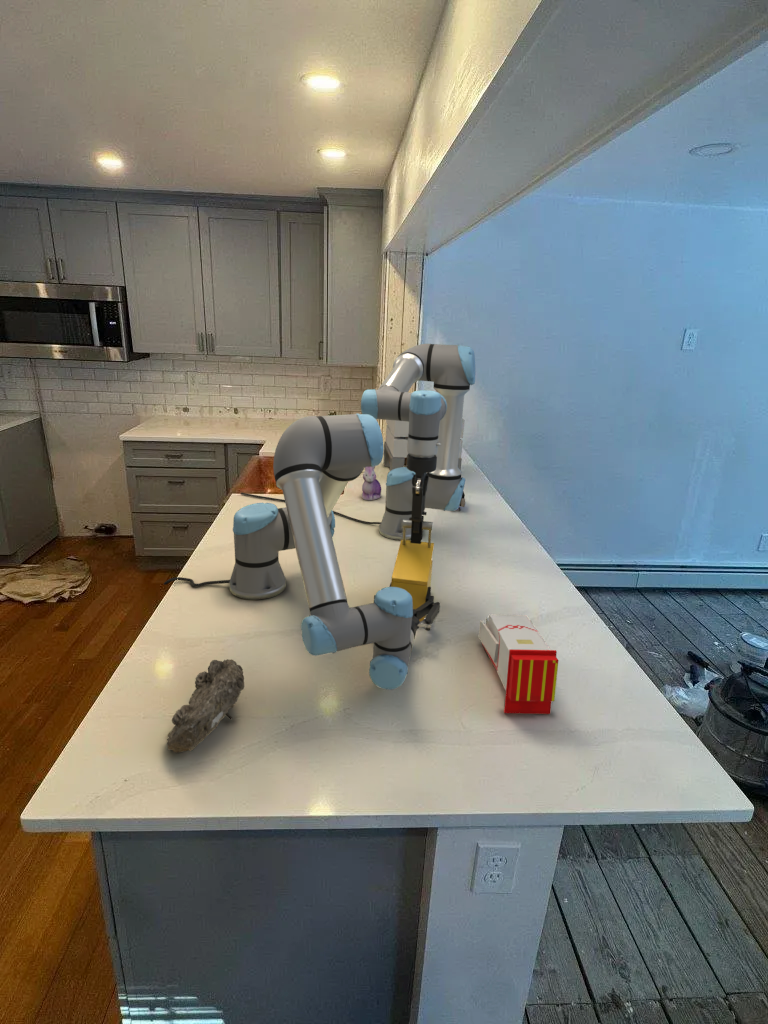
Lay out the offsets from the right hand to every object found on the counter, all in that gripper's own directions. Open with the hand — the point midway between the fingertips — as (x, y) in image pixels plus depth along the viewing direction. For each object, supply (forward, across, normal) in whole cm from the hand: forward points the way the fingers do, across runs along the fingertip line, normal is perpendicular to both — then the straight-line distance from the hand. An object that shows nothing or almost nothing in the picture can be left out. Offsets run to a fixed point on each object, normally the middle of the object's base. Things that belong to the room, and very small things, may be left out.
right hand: (416, 540), depth 150 cm
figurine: (+18, +83, +28) cm, 89 cm away
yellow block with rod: (+5, -4, 0) cm, 6 cm away
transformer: (+19, +126, +12) cm, 128 cm away
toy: (+17, -29, -25) cm, 42 cm away
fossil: (+17, -56, +32) cm, 67 cm away
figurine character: (+18, +81, -7) cm, 83 cm away
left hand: (+11, -8, 0) cm, 13 cm away
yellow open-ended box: (+17, -4, 0) cm, 18 cm away
